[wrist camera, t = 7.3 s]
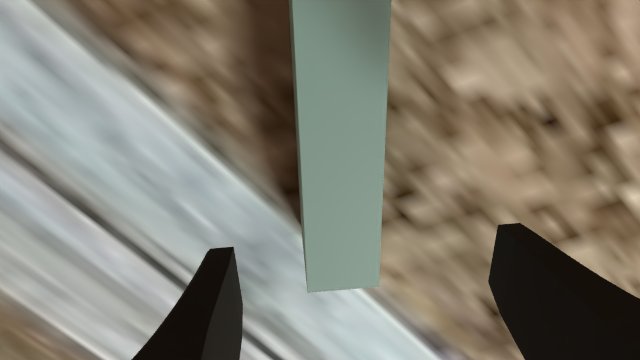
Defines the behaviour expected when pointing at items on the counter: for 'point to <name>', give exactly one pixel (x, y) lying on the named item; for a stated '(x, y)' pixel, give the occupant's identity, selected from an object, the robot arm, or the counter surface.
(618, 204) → the counter surface
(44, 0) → the counter surface
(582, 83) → the counter surface
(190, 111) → the counter surface
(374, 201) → the rectangular block
